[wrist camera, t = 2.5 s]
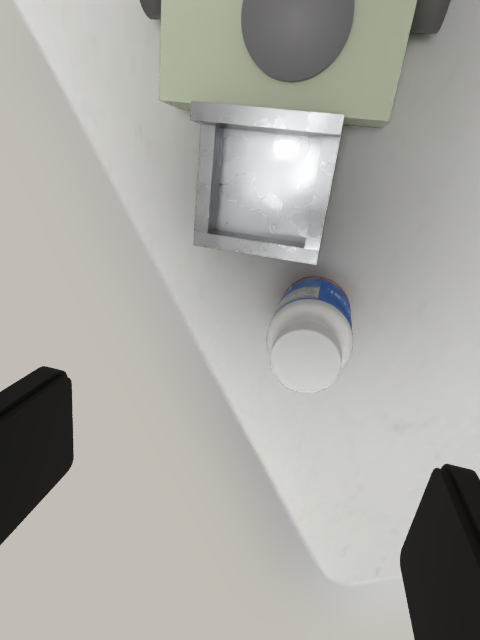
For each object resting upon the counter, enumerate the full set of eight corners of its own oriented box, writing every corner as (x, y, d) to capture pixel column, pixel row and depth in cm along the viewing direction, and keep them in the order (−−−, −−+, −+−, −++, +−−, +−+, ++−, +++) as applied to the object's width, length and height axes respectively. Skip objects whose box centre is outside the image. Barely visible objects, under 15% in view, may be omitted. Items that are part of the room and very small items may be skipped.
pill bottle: (359, 329, 30) (368, 395, 21) (294, 347, 32) (277, 415, 23) (337, 264, 28) (337, 306, 19) (270, 287, 30) (243, 335, 21)
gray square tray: (343, 124, 25) (344, 114, 21) (317, 257, 28) (314, 271, 24) (213, 111, 27) (190, 100, 22) (204, 239, 30) (183, 250, 26)
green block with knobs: (453, -52, 21) (479, -101, 17) (408, 130, 24) (421, 122, 21) (162, -56, 24) (130, -98, 20) (159, 106, 27) (131, 96, 24)
